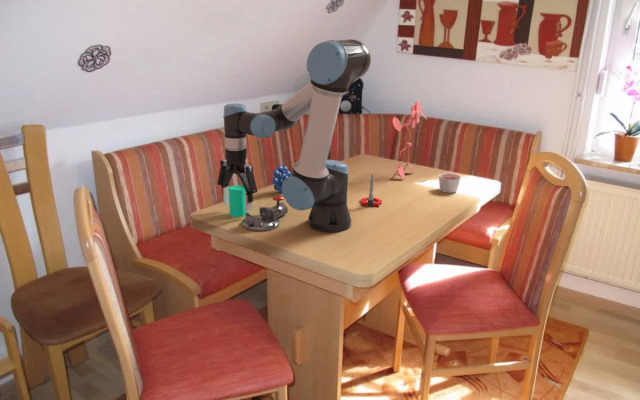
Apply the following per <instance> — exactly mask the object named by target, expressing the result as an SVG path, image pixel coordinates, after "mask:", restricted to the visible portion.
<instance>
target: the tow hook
mask: <svg viewBox="0 0 640 400" xmlns="http://www.w3.org/2000/svg"><path fill="white" fill-rule="evenodd" d="M374 181H375V180H374V173H371V177H370V183H369V193H368V197H362V198H361V199H360V203H361V206H365V207H375V208H376V207H378V208H379V207H380V205H381V204H383V200H382V199H380V198H378V197H377V198H376V197H374V193H373V192H374Z"/></svg>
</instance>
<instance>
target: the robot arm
mask: <svg viewBox="0 0 640 400" xmlns="http://www.w3.org/2000/svg"><path fill="white" fill-rule="evenodd" d="M371 58H372V57H371V52H370V50H369V48H368V47H367V46H366V45H365V44H364V43H363V42H362V41H360V40H358V39H357V40H356V39H343V40H334V39H330V40H325V41H322V42H320V43H317V44H316V45H315V46H314V47H313V48H312V49H311V50H310V51H309V54H308V56H307V60H306V70H307V71H308V75H309V77H310V82H309V83H307V84H305V85H304V86H303V87H302V88H300V90H298V91H297V92H296V93H295V94H293V95H292V96H291V97H290V98H288V99H287V100H286V101H284V102H283V103H282V104H281V105H279V106H278V107H277V108H275V109H271V110H268V111H263V112H256V113H255V112H248V111H247V109H246V105H245V104H243V103H237V102H236V103H227V104H225V105H224V106H223V129H224V148H225V149H224V153H225V155H224V158H225V159H222V160H220V162H219V163H220V167H219V172H218V173H219V174H218V177H217V178H218V179H217V186H221V194H222V196H223V206H226V205H227V206H228V205H229V187H230V182H231V179H232V178H233V175H234V174H235V175H237V177H238V178H239V179H240V182H241V185H243V186H244V188H245V193H246V194H245V211H246V213H249V212H250V211H253V206H252V205H253V204H252V203H253V202H254V194H256V193H258V188H257V184H256V179H255V176H254V167H253V166H254V165H252V164H251V165H249V164H247V162H246V160H247V158H248V157H247V156H248V154H247V152H248V151H247V135H248V136H252V137H257V138H260V139H261V138H265V139H267V138H270V137H272V135H273V134H274V133H275V132H279V131H284V130H289V129H292V128H293V127H295V126H296V125H297V122H298V120H300V119H301V118H303V116H305V115H306V114H308V117H307V122H306V127H305V130H304V131H305V132H304V136H303V141H302V144H301V145H302V146H301V151H300V156H299V160H297V161H296V162H294V163H293V165H292V171H291V176H289V177H288V178H286V179H285V180H284V182H283V184H282V193H281V194H282V196H283V197H284V200H285V201H286V203H287V204H288V205H289V206H290V207H291V208H292V209H295V210H297V211H305V210H309V209H310V212H309V214H308V219H307V220H308V221H307V225H308V226H309V227H310V228H311V229H313V230H315V231H319V232H325V233H338V232H343V231H346V230H348V229H349V228H350V227H351V226H352V218H351V215H350V211H349V207H348V203H347V202H348V185H349V183H348V181H349V170H348V169H349V166H348V165H347V164H346V162H342V161H341V160H340V161H339V160H334V159H330V160H327V158H328V154H329V149H330V146H331V145H332V141H333V136H334V132H335V128H336V124H337V120H338V114H339V110H340V106H341V101H342V98H343V96H344V95H345V94H348V93H349V91H350V90H349V89H350V86H351V85H352V84H354V83H355V82H356V81H357V80H359V79H360V78H362V77H363V76H364V75H366V74H367V72H368V71H369V69H370V66H371V62H372V59H371Z"/></svg>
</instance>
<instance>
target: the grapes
mask: <svg viewBox="0 0 640 400" xmlns="http://www.w3.org/2000/svg"><path fill="white" fill-rule="evenodd" d="M291 174H292V172H291V171H290V170H289V168H288V167H287V166H286V165H283V166H282V165H277V167H276V169H275V170H273V171H272V176H273V177H272V178H271V183H272V184H273V189H274V190H275V191H278V193H280V194H283V193H282V184H283V182H284V180H285V179H286V178H288V177H289V176H291Z"/></svg>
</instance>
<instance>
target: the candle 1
mask: <svg viewBox="0 0 640 400" xmlns="http://www.w3.org/2000/svg"><path fill="white" fill-rule="evenodd" d="M245 194H247V193H246V191H245V188H244V186H243V184H241V185H240V184H235V185H231V186H229V204H228V206H229V207H228V208H229V216H230V215H231V216H230V217H232V216H234V217H233V218H242V217H241V216H243V217H244V215H245V213H247V212H246V211H245Z"/></svg>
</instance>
